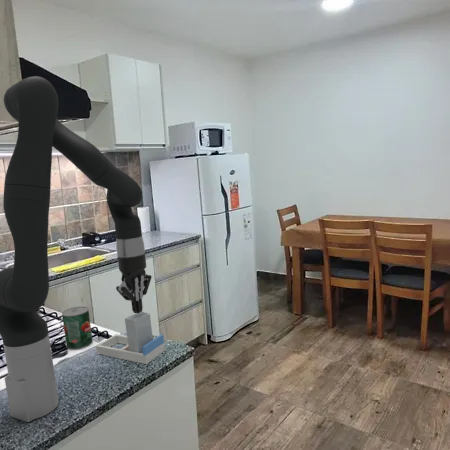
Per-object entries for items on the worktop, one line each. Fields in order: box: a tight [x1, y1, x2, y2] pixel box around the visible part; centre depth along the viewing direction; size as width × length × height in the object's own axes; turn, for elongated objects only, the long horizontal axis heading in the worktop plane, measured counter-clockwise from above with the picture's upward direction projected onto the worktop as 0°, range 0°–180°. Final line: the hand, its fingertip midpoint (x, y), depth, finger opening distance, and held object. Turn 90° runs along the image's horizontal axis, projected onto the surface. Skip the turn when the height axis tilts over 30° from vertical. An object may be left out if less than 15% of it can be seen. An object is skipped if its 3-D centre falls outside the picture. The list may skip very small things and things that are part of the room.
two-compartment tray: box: [95, 333, 166, 365], centre depth 117 cm, size 9×19×5 cm, turn 62°
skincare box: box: [124, 311, 154, 353], centre depth 114 cm, size 6×4×12 cm
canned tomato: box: [61, 305, 94, 351], centre depth 125 cm, size 8×8×11 cm
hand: (138, 312), depth 113 cm, fingers closed
